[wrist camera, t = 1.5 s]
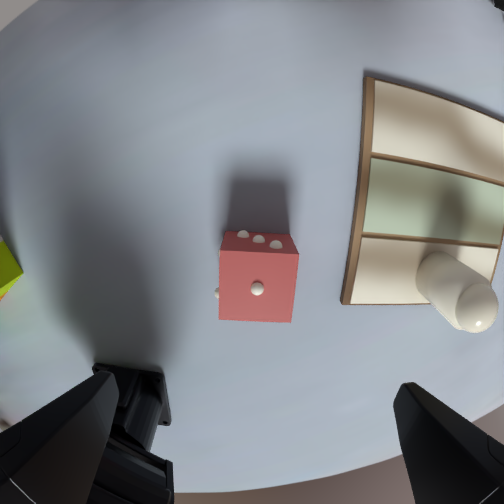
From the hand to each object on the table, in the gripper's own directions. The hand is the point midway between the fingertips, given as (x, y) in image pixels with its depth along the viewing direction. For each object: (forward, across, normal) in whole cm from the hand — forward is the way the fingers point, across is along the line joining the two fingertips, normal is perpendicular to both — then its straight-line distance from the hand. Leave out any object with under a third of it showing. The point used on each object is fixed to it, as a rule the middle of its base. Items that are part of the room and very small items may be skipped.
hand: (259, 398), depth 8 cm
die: (+12, 0, +1) cm, 12 cm away
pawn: (+12, -13, +1) cm, 17 cm away
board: (+12, -13, -4) cm, 18 cm away
